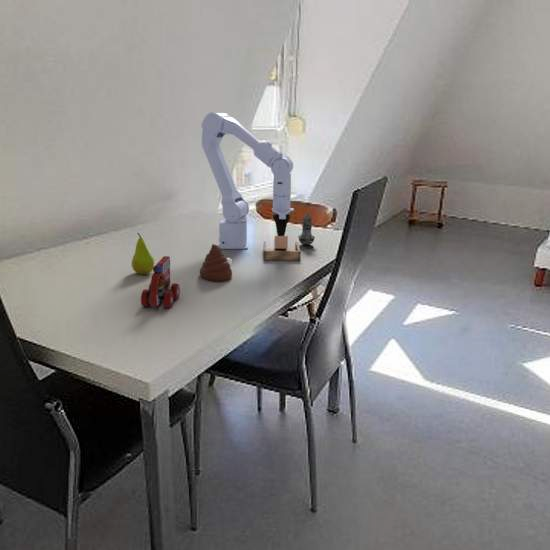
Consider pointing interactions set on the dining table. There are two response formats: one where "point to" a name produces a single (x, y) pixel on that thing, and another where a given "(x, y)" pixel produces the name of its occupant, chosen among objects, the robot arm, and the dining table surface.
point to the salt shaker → (306, 234)
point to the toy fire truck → (161, 286)
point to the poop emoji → (216, 266)
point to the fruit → (142, 258)
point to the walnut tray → (282, 254)
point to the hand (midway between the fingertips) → (280, 236)
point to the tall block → (280, 242)
